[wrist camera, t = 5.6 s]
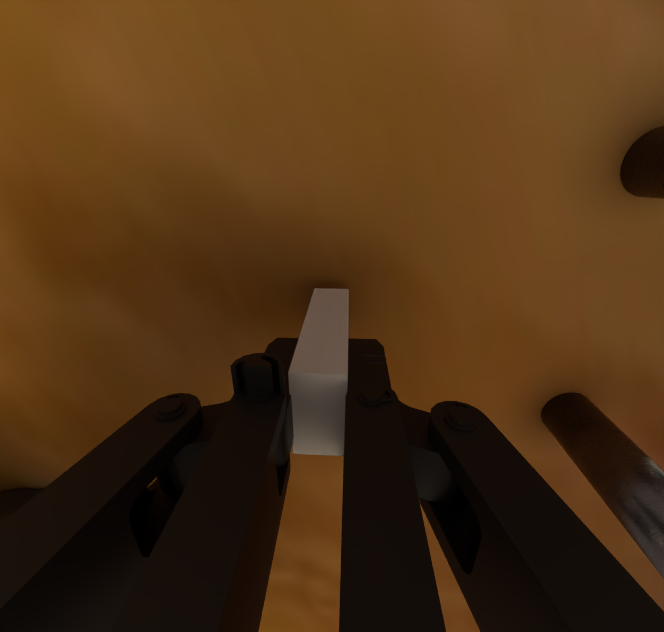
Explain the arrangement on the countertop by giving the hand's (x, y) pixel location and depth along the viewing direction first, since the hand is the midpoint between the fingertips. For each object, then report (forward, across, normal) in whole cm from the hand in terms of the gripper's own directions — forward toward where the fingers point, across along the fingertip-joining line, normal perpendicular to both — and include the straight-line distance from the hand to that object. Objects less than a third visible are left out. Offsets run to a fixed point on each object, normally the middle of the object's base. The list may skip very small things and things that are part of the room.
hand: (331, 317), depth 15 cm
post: (+2, -13, +6) cm, 15 cm away
